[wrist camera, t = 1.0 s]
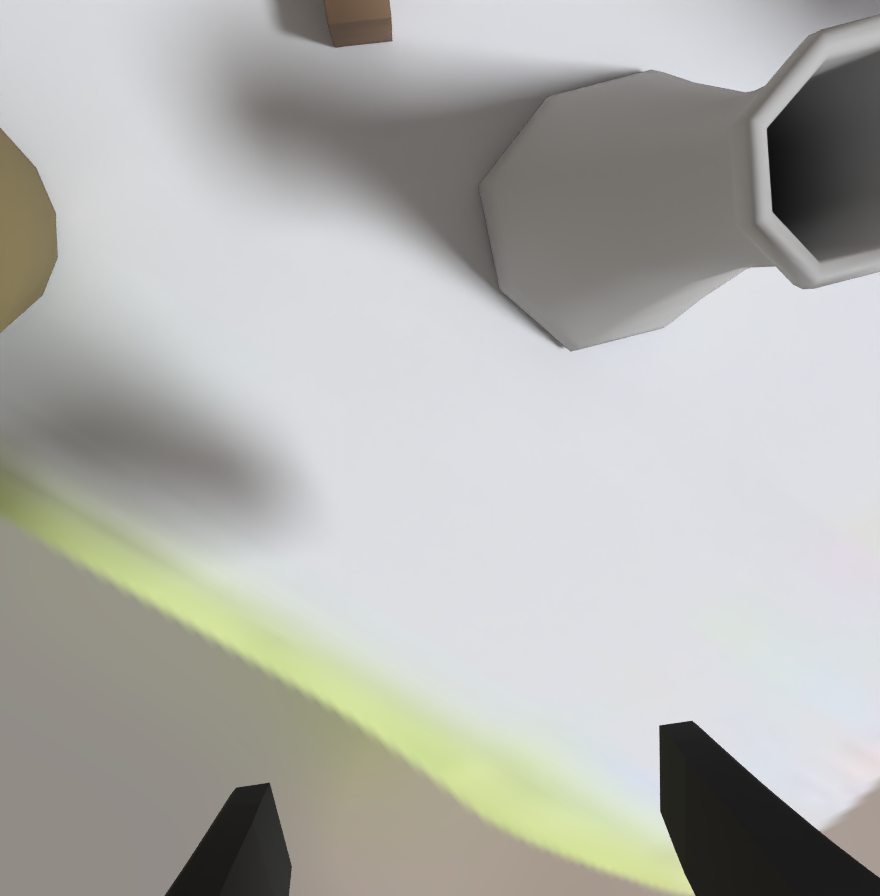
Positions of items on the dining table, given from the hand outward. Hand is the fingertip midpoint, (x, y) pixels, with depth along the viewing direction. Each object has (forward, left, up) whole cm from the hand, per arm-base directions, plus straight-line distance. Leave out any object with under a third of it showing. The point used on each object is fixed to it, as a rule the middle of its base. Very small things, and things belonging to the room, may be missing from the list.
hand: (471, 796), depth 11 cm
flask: (-6, -10, -10) cm, 15 cm away
